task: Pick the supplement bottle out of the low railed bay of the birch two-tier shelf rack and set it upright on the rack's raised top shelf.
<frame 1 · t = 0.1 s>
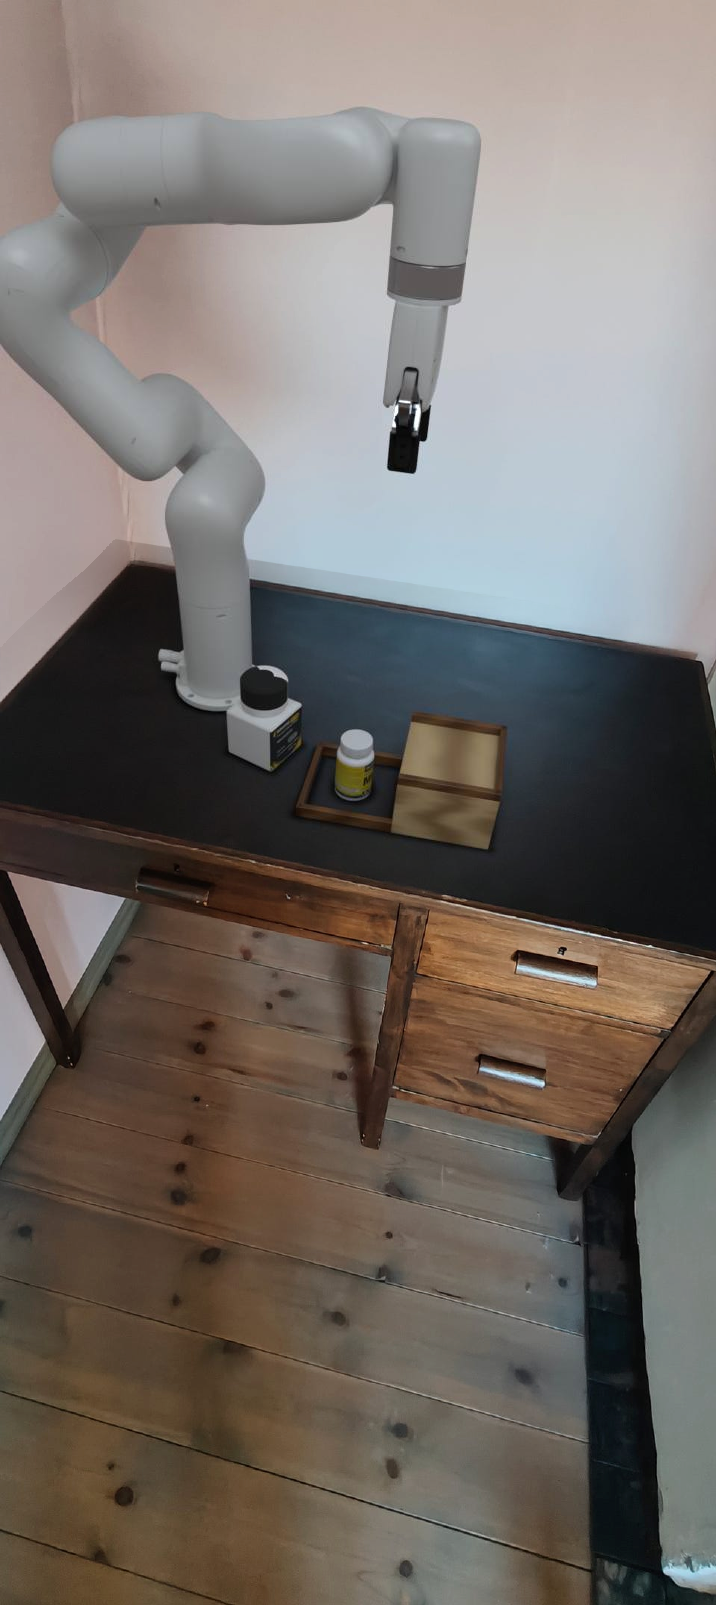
hand: (407, 454, 94), 37 cm above the table, tool pointing down, fingers open, 9 cm apart
supplement bottle: (352, 790, 107), resting in shelf rack
medicine bottle: (265, 749, 112), on the table
shelf rack: (398, 797, 106), on the table
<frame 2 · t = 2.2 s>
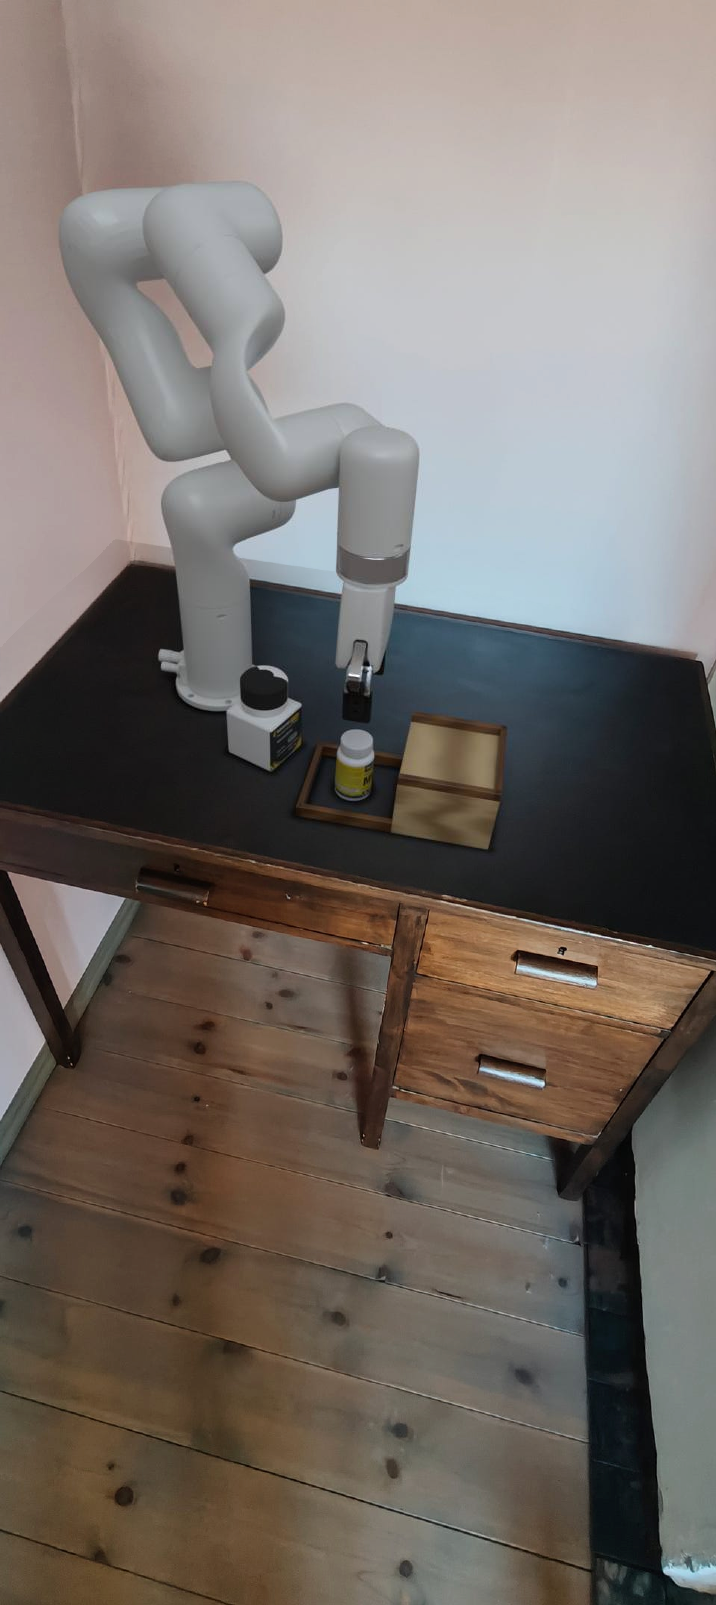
hand: (363, 695, 96), 15 cm above the table, tool pointing down, fingers open, 9 cm apart
nothing on the table moved.
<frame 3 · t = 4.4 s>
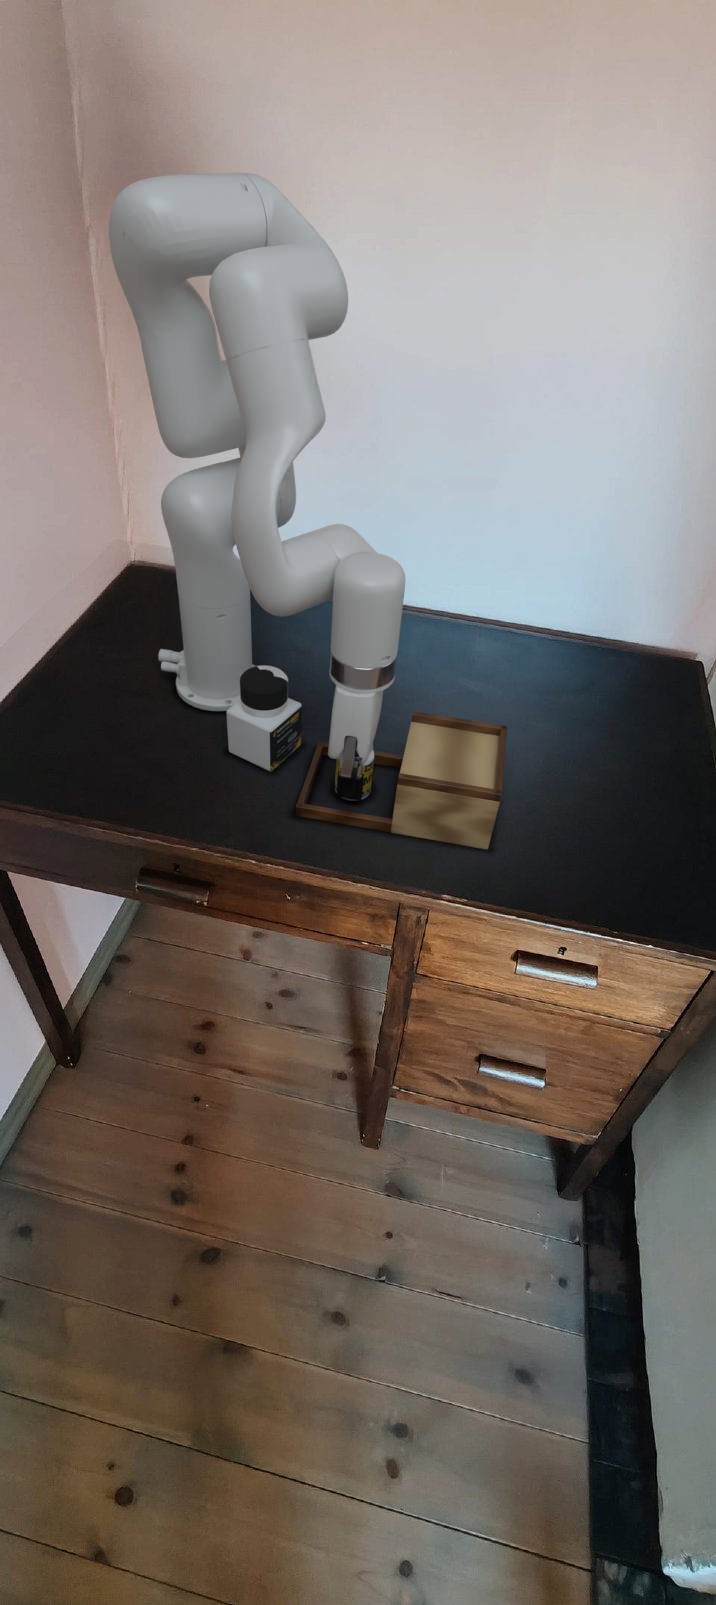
hand: (353, 781, 106), 1 cm above the table, tool pointing down, fingers closed on supplement bottle, 4 cm apart
supplement bottle: (352, 790, 107), resting in shelf rack, touching gripper
everything else where it was.
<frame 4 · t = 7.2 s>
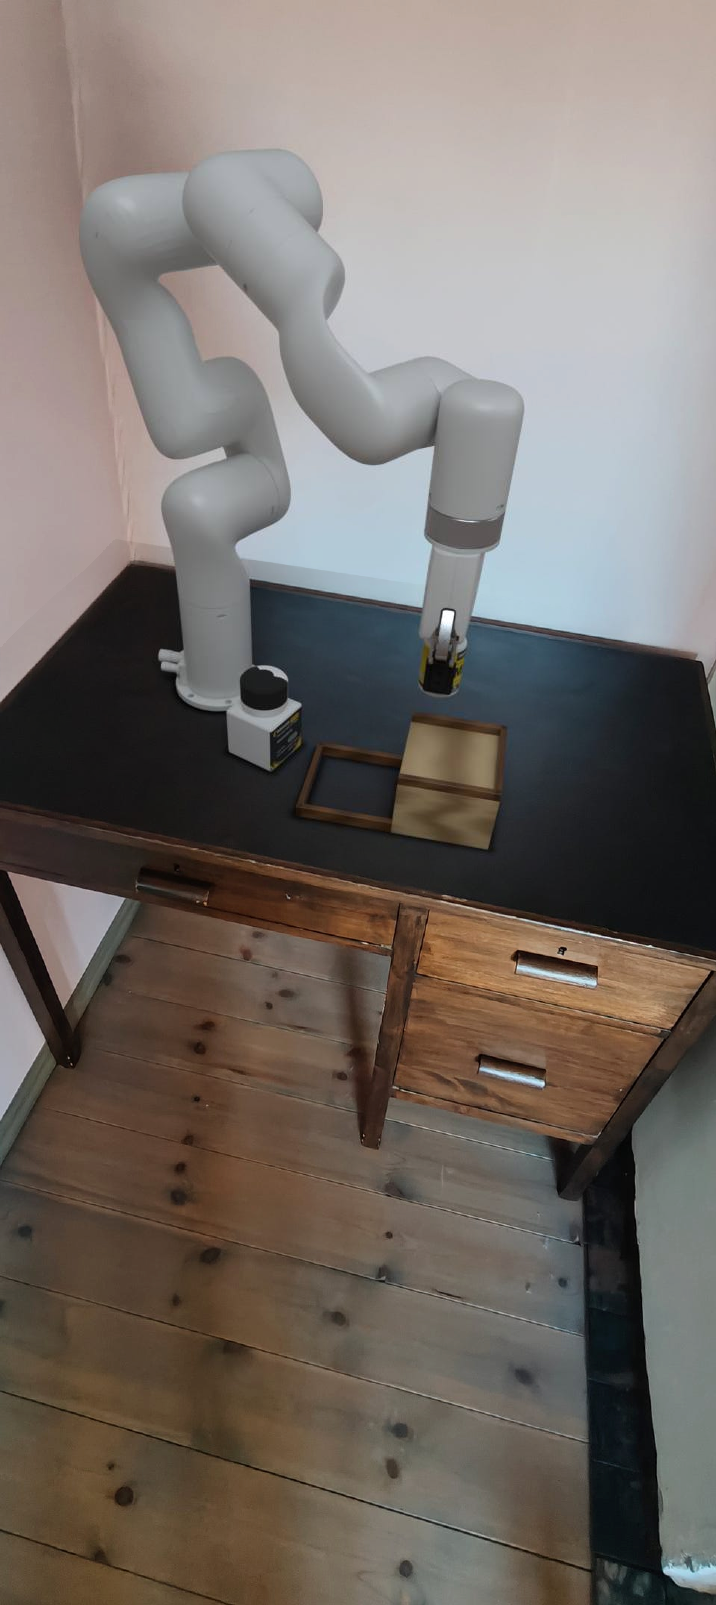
hand: (439, 676, 93), 19 cm above the table, tool pointing down, fingers closed on supplement bottle, 4 cm apart
supplement bottle: (438, 687, 94), point 18 cm above the table, touching gripper
everything else where it was.
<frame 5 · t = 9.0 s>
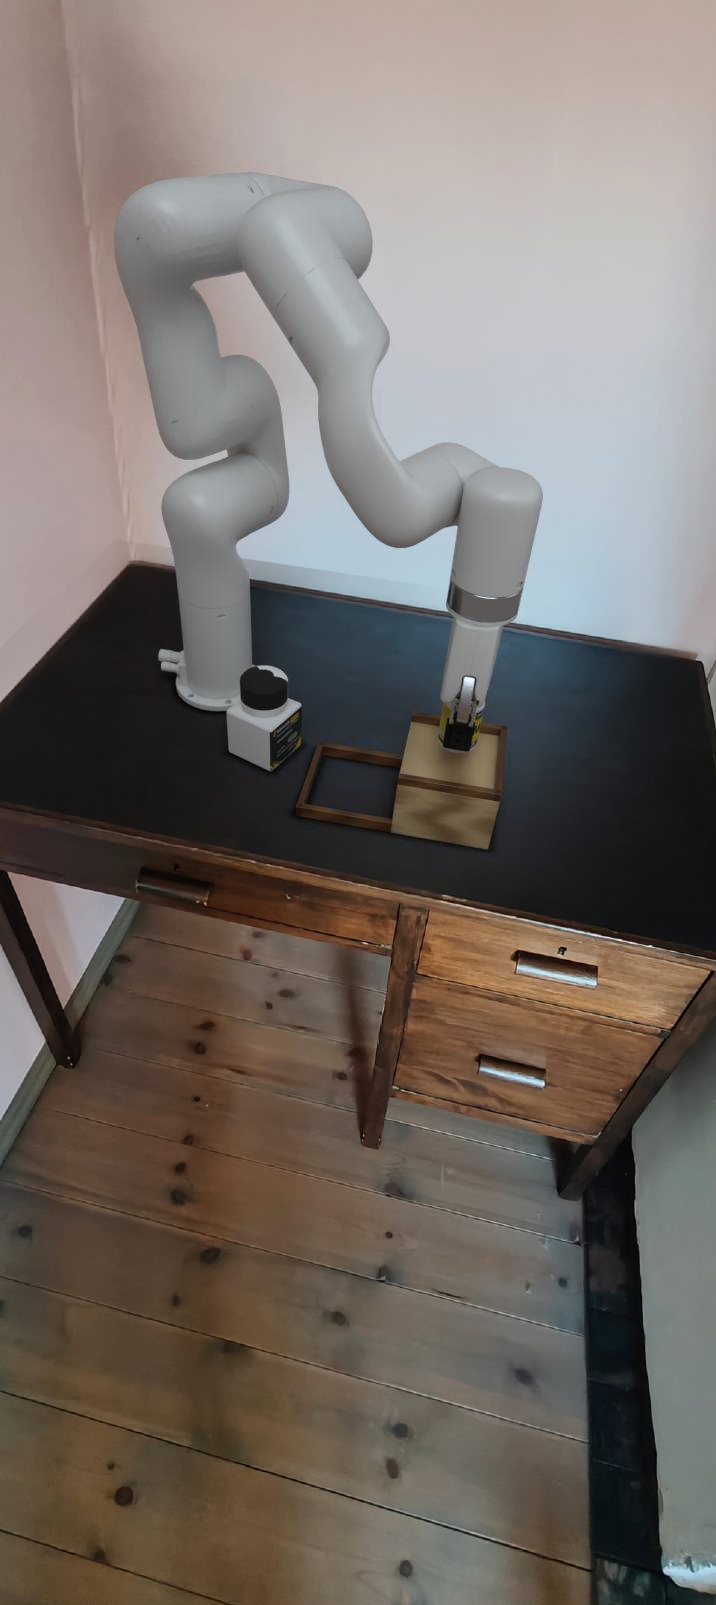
hand: (458, 732, 98), 12 cm above the table, tool pointing down, fingers closed on supplement bottle, 4 cm apart
supplement bottle: (456, 742, 99), point 10 cm above the table, touching gripper
everything else where it was.
when the fingers open (9 cm above the table, at t = 10.2 s): supplement bottle stays where it is, resting on shelf rack.
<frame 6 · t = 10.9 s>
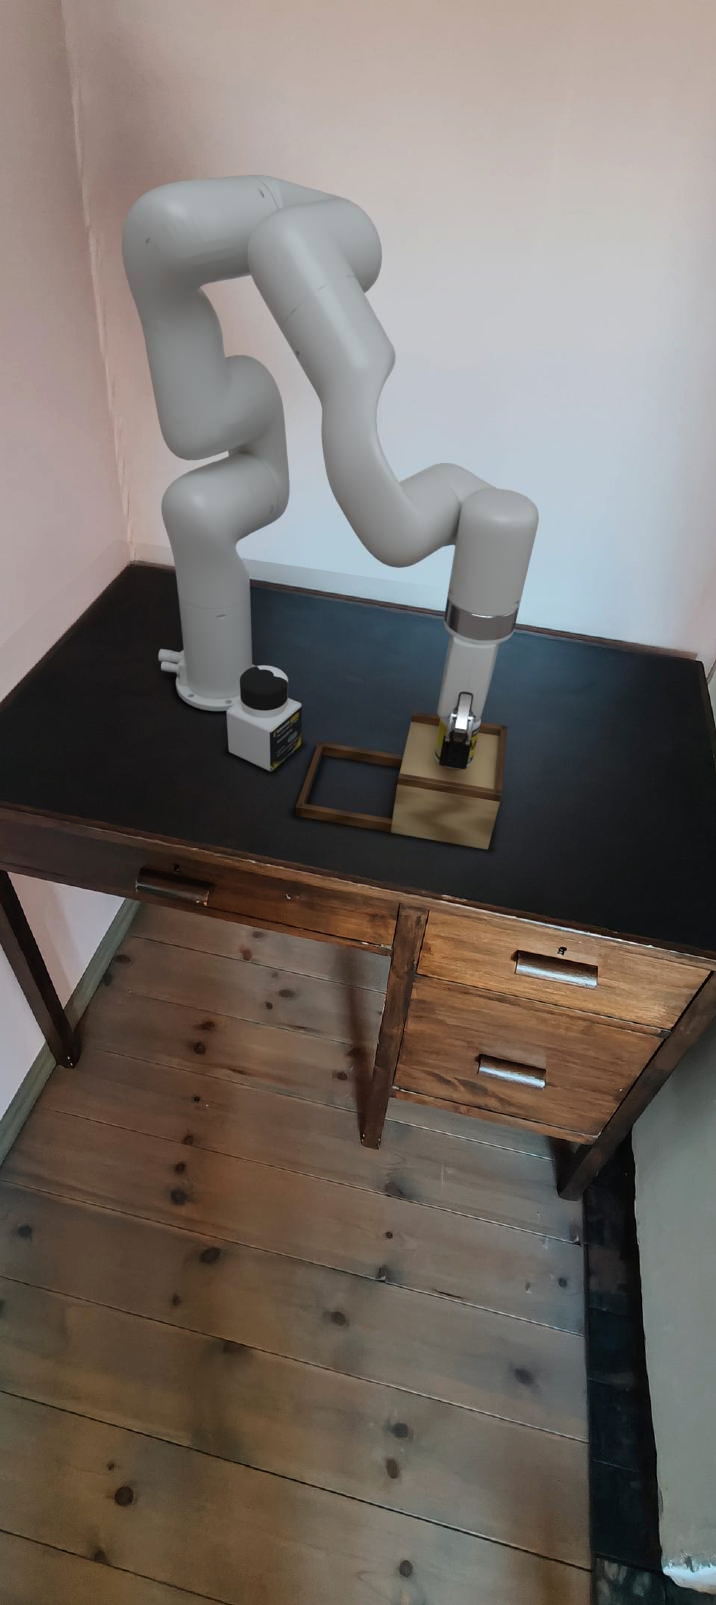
hand: (456, 739, 98), 11 cm above the table, tool pointing down, fingers open, 9 cm apart
supplement bottle: (453, 758, 101), point 8 cm above the table, touching shelf rack
everything else where it was.
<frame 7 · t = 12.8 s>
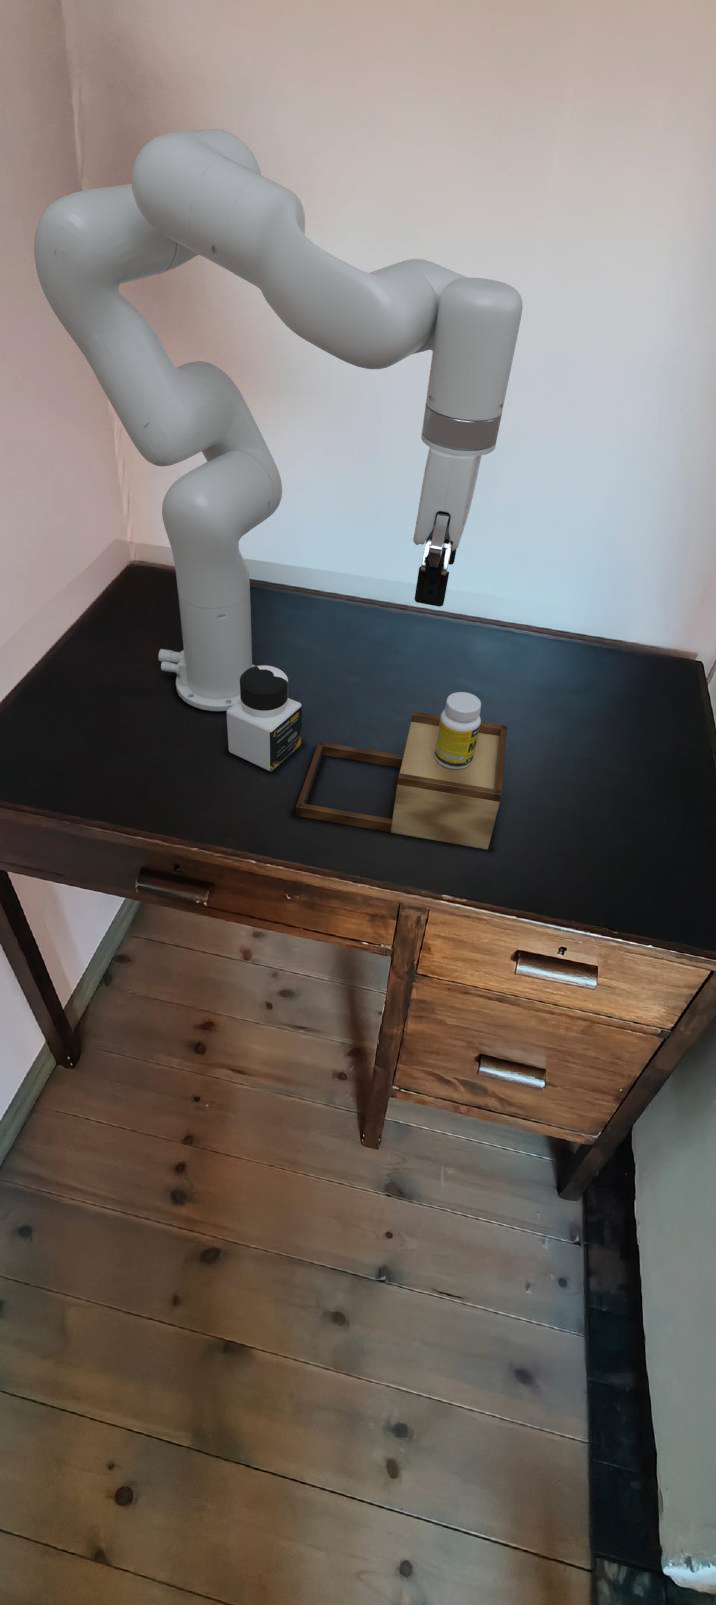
hand: (434, 581, 94), 26 cm above the table, tool pointing down, fingers open, 9 cm apart
nothing on the table moved.
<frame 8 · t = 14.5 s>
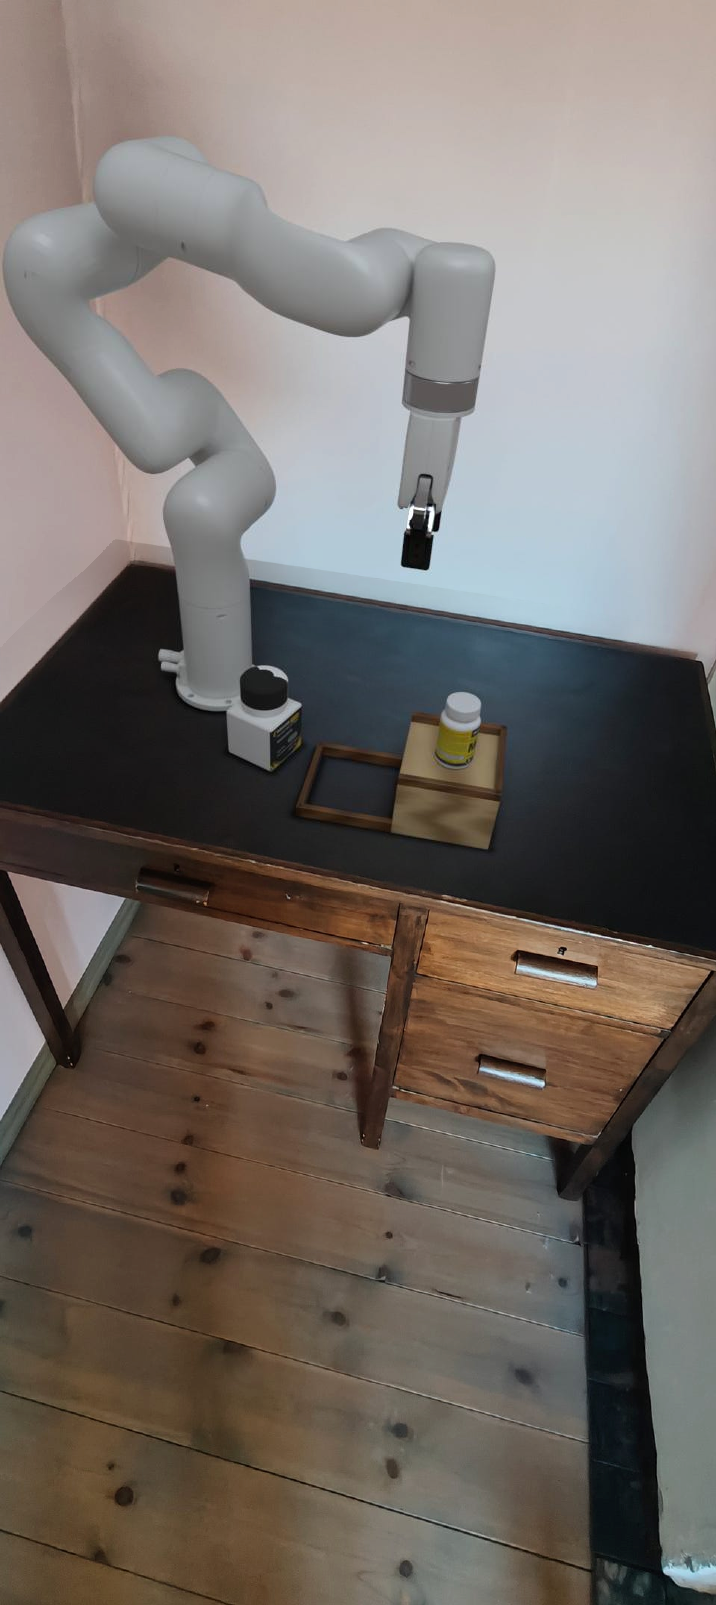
hand: (420, 547, 96), 28 cm above the table, tool pointing down, fingers open, 9 cm apart
nothing on the table moved.
at the end: supplement bottle inside the target area on the shelf rack (0.2 cm from its centre), point 7.8 cm above the shelf rack's base; supplement bottle tilted 0°; the gripper is holding nothing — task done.
